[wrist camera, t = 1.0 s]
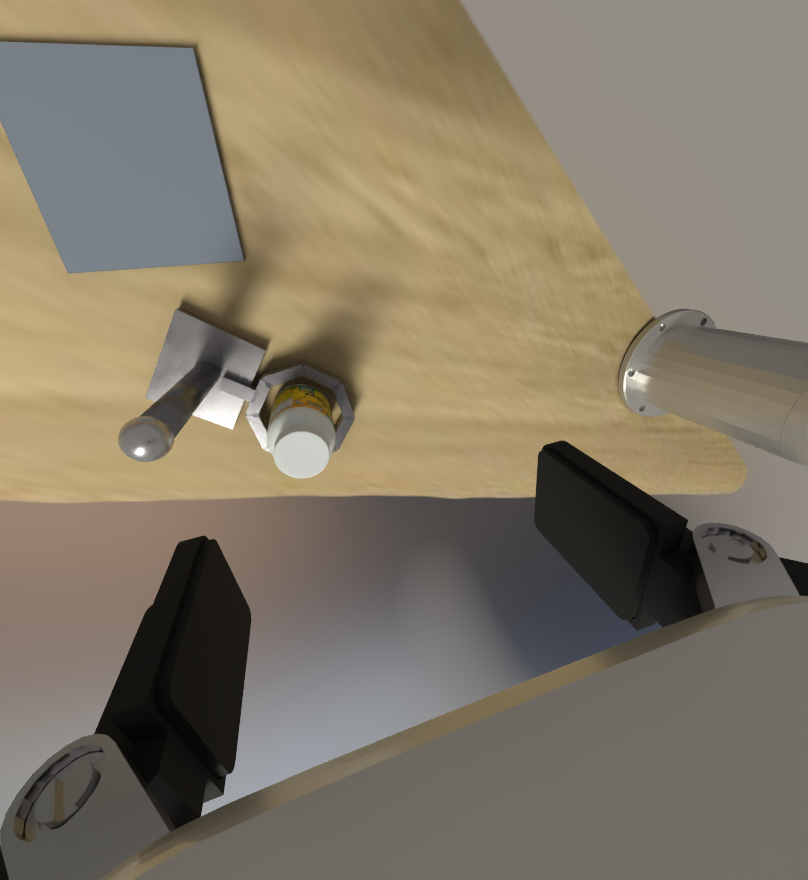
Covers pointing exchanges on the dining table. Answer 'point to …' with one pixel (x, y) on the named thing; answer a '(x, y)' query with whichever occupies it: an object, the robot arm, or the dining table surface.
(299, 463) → the supplement bottle
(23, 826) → the robot arm
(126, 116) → the rubber mat
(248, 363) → the ring stand
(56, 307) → the dining table surface
